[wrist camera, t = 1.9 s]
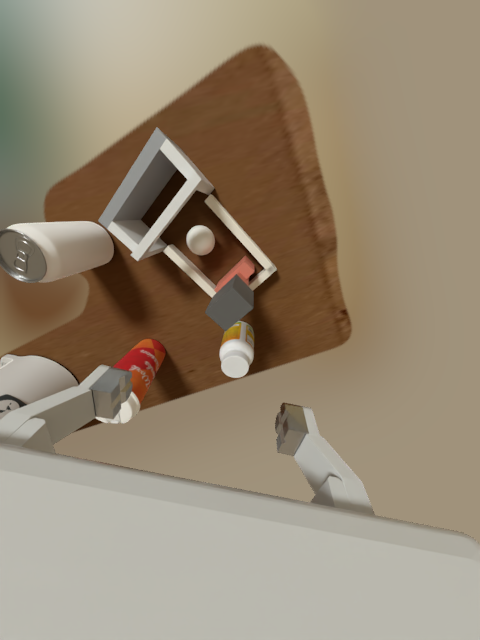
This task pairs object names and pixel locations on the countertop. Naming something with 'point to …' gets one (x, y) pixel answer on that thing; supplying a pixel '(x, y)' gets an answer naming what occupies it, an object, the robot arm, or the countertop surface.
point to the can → (53, 249)
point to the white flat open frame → (243, 238)
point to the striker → (232, 295)
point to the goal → (151, 195)
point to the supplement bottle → (237, 349)
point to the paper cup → (138, 376)
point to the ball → (200, 240)
